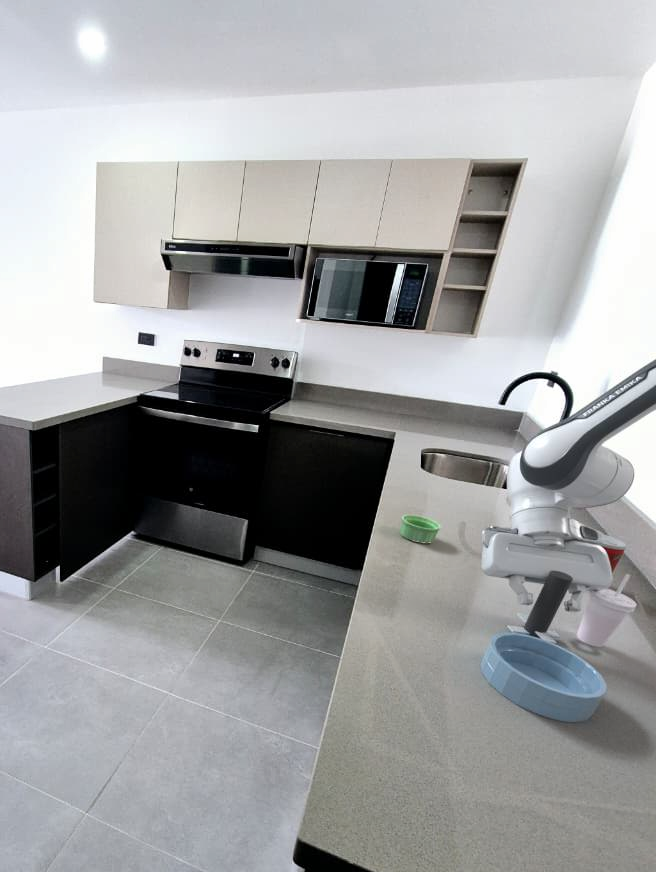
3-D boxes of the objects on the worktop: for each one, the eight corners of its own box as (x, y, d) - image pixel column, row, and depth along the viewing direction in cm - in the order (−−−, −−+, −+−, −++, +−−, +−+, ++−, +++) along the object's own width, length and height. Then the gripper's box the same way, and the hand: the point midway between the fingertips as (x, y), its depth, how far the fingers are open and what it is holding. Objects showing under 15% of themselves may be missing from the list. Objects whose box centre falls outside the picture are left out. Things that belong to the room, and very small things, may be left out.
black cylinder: (539, 628, 92) (569, 566, 87) (569, 657, 84) (605, 591, 79) (493, 622, 92) (521, 560, 87) (520, 651, 84) (552, 584, 79)
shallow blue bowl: (573, 677, 79) (587, 651, 77) (605, 740, 67) (623, 712, 65) (473, 647, 84) (484, 622, 82) (486, 701, 71) (499, 673, 69)
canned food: (605, 595, 108) (629, 550, 104) (561, 582, 112) (583, 538, 107) (600, 582, 114) (623, 539, 110) (559, 570, 118) (580, 527, 113)
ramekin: (398, 527, 132) (403, 511, 130) (435, 536, 129) (440, 520, 127) (395, 538, 124) (401, 522, 122) (435, 548, 121) (441, 532, 119)
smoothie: (619, 654, 87) (660, 584, 81) (589, 654, 86) (628, 584, 80) (586, 631, 93) (622, 565, 87) (558, 631, 91) (592, 564, 86)
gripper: (491, 517, 87) (497, 593, 82) (613, 534, 86) (626, 613, 81) (471, 530, 93) (476, 602, 88) (585, 546, 92) (596, 620, 87)
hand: (549, 607), depth 85 cm, fingers open, 6 cm apart
